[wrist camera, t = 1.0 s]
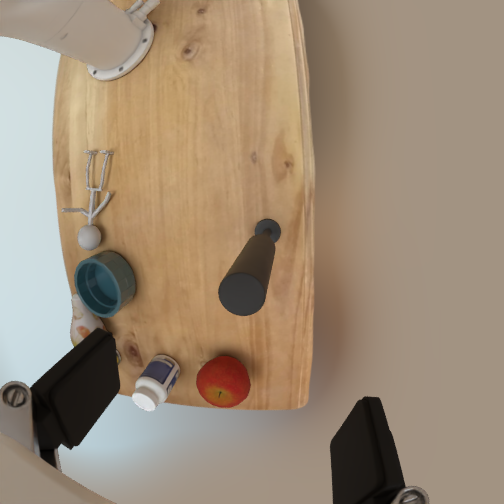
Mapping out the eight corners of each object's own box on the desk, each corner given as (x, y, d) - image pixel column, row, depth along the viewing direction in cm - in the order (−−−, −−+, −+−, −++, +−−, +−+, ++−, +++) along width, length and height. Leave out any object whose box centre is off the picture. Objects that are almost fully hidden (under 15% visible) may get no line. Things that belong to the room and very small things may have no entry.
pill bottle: (147, 357, 43) (121, 391, 34) (169, 350, 42) (144, 387, 33) (164, 379, 44) (142, 415, 35) (186, 374, 43) (166, 413, 34)
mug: (97, 281, 41) (84, 330, 33) (118, 316, 47) (111, 361, 40) (64, 285, 40) (48, 331, 33) (87, 318, 47) (77, 361, 39)
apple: (208, 340, 40) (192, 371, 33) (258, 354, 40) (251, 388, 32) (202, 375, 42) (188, 407, 35) (248, 388, 42) (240, 421, 34)
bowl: (106, 237, 38) (86, 245, 33) (147, 279, 39) (131, 291, 34) (85, 276, 41) (67, 286, 36) (122, 314, 42) (106, 328, 37)
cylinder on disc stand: (266, 213, 34) (238, 257, 15) (285, 231, 34) (280, 295, 16) (250, 232, 35) (204, 294, 16) (268, 248, 35) (244, 328, 17)
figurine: (99, 147, 30) (88, 260, 32) (123, 153, 35) (112, 251, 38) (68, 148, 30) (59, 251, 33) (93, 152, 36) (84, 244, 39)
